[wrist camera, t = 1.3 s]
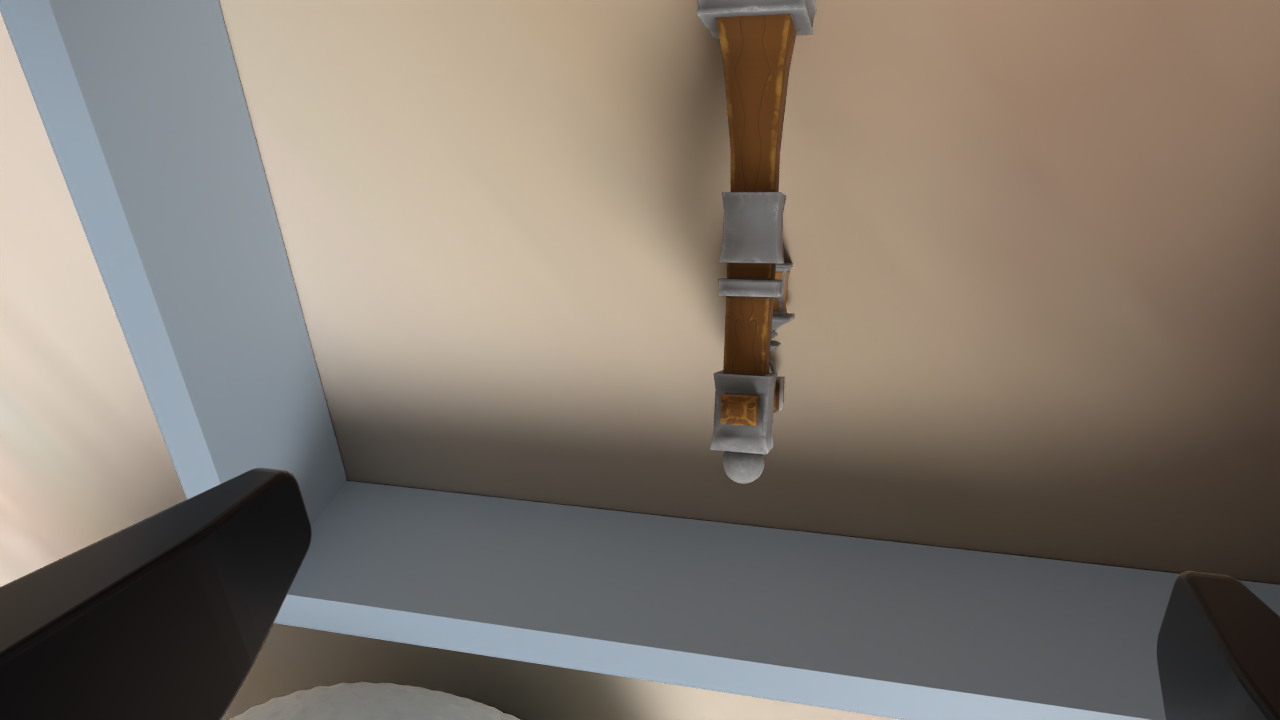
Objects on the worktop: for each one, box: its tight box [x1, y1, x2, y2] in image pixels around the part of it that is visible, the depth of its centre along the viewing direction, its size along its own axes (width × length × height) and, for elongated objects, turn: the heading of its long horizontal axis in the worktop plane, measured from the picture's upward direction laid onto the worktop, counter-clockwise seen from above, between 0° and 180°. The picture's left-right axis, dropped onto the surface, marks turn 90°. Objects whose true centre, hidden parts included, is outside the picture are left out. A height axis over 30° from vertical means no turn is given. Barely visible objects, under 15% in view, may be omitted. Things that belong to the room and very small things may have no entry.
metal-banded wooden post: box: [697, 0, 817, 484], centre depth 17 cm, size 2×8×4 cm, turn 5°
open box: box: [0, 0, 1280, 720], centre depth 16 cm, size 24×16×4 cm, turn 93°
